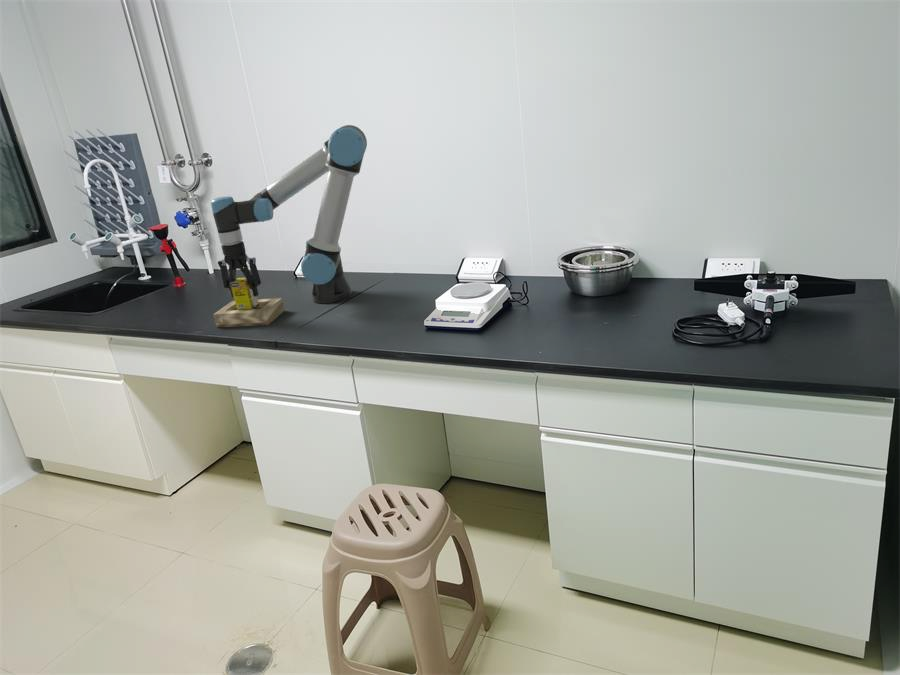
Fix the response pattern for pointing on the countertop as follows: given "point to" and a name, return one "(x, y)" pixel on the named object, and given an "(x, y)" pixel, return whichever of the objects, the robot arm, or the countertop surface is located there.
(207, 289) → the countertop surface
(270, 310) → the wooden tray
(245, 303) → the supplement box
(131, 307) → the countertop surface
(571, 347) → the countertop surface
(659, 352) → the countertop surface
